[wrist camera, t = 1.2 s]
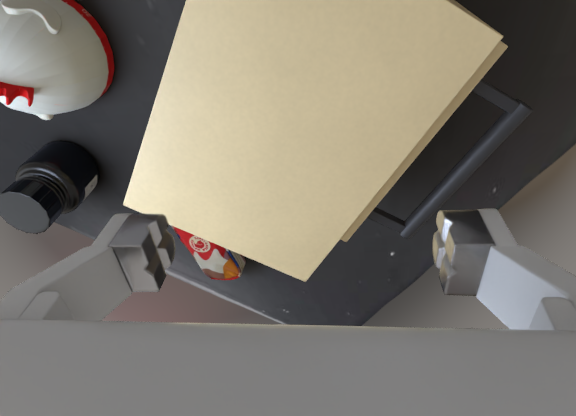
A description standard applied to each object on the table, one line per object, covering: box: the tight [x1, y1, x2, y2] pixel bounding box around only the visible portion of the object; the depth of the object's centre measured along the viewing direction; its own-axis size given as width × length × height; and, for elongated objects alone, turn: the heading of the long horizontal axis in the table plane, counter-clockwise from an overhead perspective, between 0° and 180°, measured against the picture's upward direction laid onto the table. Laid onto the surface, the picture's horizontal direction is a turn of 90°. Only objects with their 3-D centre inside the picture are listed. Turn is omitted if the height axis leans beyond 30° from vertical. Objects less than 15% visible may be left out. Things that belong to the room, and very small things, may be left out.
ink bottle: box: [0, 141, 100, 234], centre depth 56 cm, size 10×9×12 cm
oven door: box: [340, 41, 533, 242], centre depth 41 cm, size 22×7×15 cm, turn 153°
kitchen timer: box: [0, 0, 114, 120], centre depth 44 cm, size 14×14×15 cm
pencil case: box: [171, 225, 246, 280], centre depth 63 cm, size 11×20×5 cm, turn 8°
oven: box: [123, 0, 503, 282], centre depth 41 cm, size 28×21×20 cm
